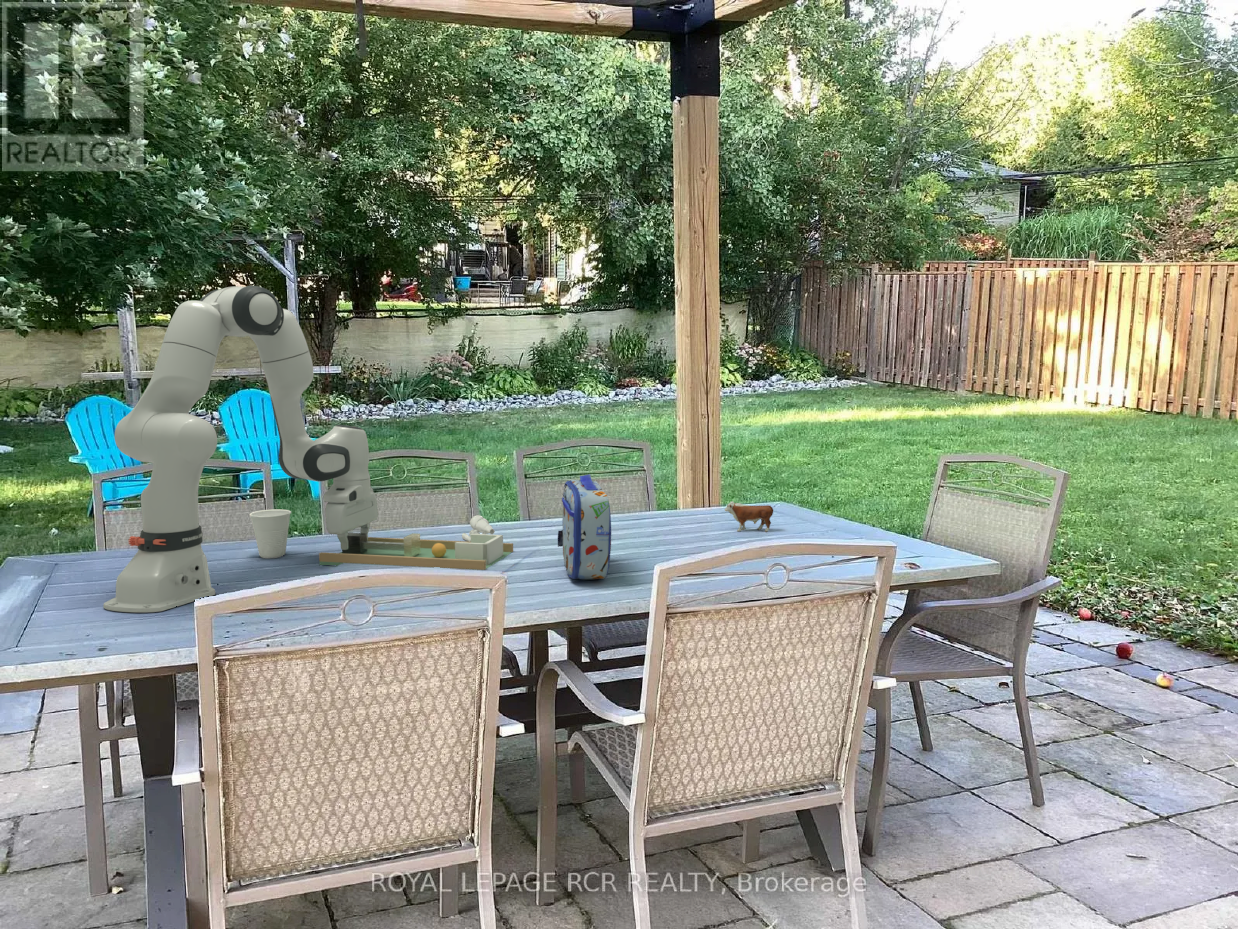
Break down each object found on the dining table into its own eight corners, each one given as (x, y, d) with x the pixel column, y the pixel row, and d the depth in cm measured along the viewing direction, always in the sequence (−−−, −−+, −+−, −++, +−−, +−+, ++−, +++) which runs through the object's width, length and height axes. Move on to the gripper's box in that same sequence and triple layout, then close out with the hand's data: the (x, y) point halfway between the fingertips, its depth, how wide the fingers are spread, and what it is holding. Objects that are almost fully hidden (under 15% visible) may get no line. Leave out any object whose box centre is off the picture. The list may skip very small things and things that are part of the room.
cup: (280, 561, 246) (277, 517, 244) (243, 559, 248) (241, 515, 246) (300, 552, 255) (298, 509, 254) (265, 551, 257) (263, 508, 256)
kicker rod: (411, 557, 243) (411, 537, 243) (340, 553, 248) (339, 534, 247) (420, 553, 248) (419, 533, 247) (350, 549, 252) (349, 530, 252)
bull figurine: (724, 528, 283) (724, 500, 282) (772, 529, 281) (773, 500, 280) (724, 531, 278) (724, 502, 277) (773, 532, 277) (773, 503, 275)
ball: (443, 559, 242) (442, 545, 242) (429, 558, 243) (429, 544, 243) (448, 556, 246) (448, 542, 245) (435, 555, 246) (434, 541, 246)
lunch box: (556, 559, 246) (555, 470, 243) (598, 558, 247) (597, 469, 244) (569, 587, 219) (568, 487, 216) (616, 585, 220) (615, 486, 217)
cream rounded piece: (484, 556, 258) (469, 543, 256) (470, 545, 271) (456, 533, 269) (505, 532, 260) (490, 519, 258) (489, 523, 273) (475, 510, 271)
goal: (487, 565, 236) (486, 544, 235) (455, 563, 237) (454, 542, 237) (503, 555, 246) (502, 535, 246) (472, 553, 248) (472, 533, 247)
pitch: (484, 574, 231) (484, 561, 231) (319, 565, 241) (318, 553, 240) (513, 555, 251) (513, 543, 250) (359, 548, 260) (359, 536, 260)
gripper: (360, 483, 258) (362, 536, 260) (319, 496, 239) (322, 553, 240) (383, 484, 257) (385, 537, 259) (343, 497, 237) (346, 554, 239)
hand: (354, 545), depth 249 cm, fingers open, 8 cm apart
